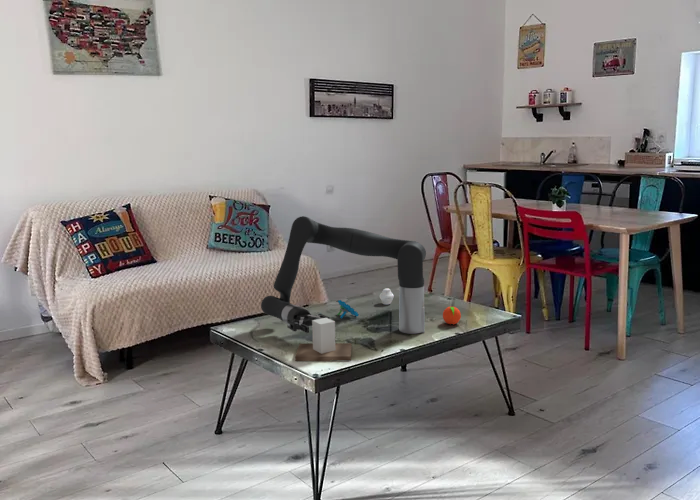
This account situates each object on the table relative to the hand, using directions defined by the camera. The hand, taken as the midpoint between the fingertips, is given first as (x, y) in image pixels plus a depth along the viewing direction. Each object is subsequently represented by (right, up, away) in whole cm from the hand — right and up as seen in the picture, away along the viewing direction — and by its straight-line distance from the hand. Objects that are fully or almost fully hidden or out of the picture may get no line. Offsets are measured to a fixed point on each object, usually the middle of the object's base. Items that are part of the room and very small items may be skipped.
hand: (319, 327), depth 206 cm
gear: (+9, -1, +42) cm, 43 cm away
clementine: (+49, -3, +30) cm, 58 cm away
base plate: (+2, -9, -1) cm, 9 cm away
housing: (+2, -7, -1) cm, 8 cm away
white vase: (+26, +3, +61) cm, 66 cm away
